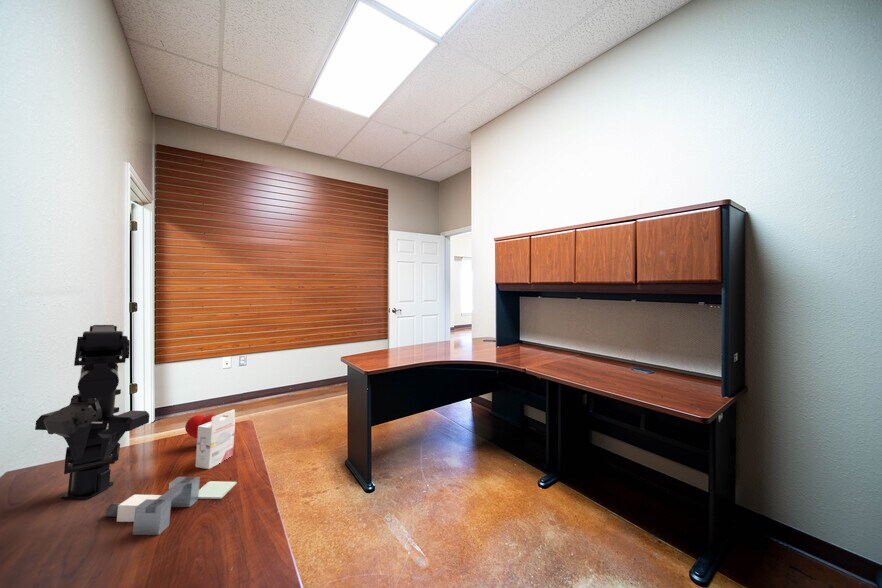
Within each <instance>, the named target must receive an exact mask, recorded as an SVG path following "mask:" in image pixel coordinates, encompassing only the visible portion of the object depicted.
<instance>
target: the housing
mask: <svg viewBox="0 0 882 588" xmlns="http://www.w3.org/2000/svg"><path fill="white" fill-rule="evenodd" d="M200 479H201V476H177V477H176V478H174V479H173V480H172V481H170V482H169V483H168V491H166V492H165V493H163V494H161V495H162V496H160V497H159V498H158V499H146V500H145V501H144V502H142V503H141V504H139V505H138V506H137V507H135V515H134V522H133V529H132V535H133V536H135V535H137V536H140V535H141V536H145V535H146V536H147V535H148V536H151V535H152V536H158V535H160V534H161V533H163V531H165V530H166V529H167V528H168V527H169V526H170V520H171V519H170V518H171V508H191V507H192V506H193V505H194V504H196V502H198V500H199V499H198V494H199V490H200V482H201V480H200Z"/></svg>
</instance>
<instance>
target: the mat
mask: <svg viewBox="0 0 882 588" xmlns="http://www.w3.org/2000/svg"><path fill="white" fill-rule="evenodd" d="M237 484H238V481H214V480H213V481H211V480H210V481H208V482H206V484H203V486H202V487H201V488H199V494H198V500H199V499H200V500H202V499H203V500H205V499H206V500H213V499H214V500H221V499H223V498H224V496H225V495H227V494H228V493H229V491H231V489H233V488H234V486H236V485H237Z"/></svg>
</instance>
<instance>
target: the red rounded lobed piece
mask: <svg viewBox="0 0 882 588" xmlns="http://www.w3.org/2000/svg"><path fill="white" fill-rule="evenodd" d="M214 416H217V415H216V414H208V415H205V416H204V415H200V414H199V415H197V414H196V415H193V416H192V417H190V418H189V419H187V422H186V424H185V425H184V426H185V427H184V428H185V431H186V434H188V435H189V436H190V437H192V438H194V439H196V440H197V436H198V426H200V425H203V424H206V423H208V422H211V421H212V420H211V419H212V417H214ZM196 446H197V442H196Z"/></svg>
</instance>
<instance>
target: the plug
mask: <svg viewBox="0 0 882 588" xmlns="http://www.w3.org/2000/svg"><path fill="white" fill-rule="evenodd" d="M162 495H163V494H133V495H132V496H130V497H128V498H127V499H125V500H124V501H122V502H120V503H119V502H118V503H117V502H115V503H114V502H113V503H111V504H110V505H109V506H108V507H107V509H106V511H105V516H106V517H116V523H117V522H122V523H125V522H128V523H129V522H130V523H132V522H133V523H134V515H135V507H137V506H138V505H139V504H141V503H142V502H144V501H145V500H146V499H158V498H159V497H160V496H162Z"/></svg>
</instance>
